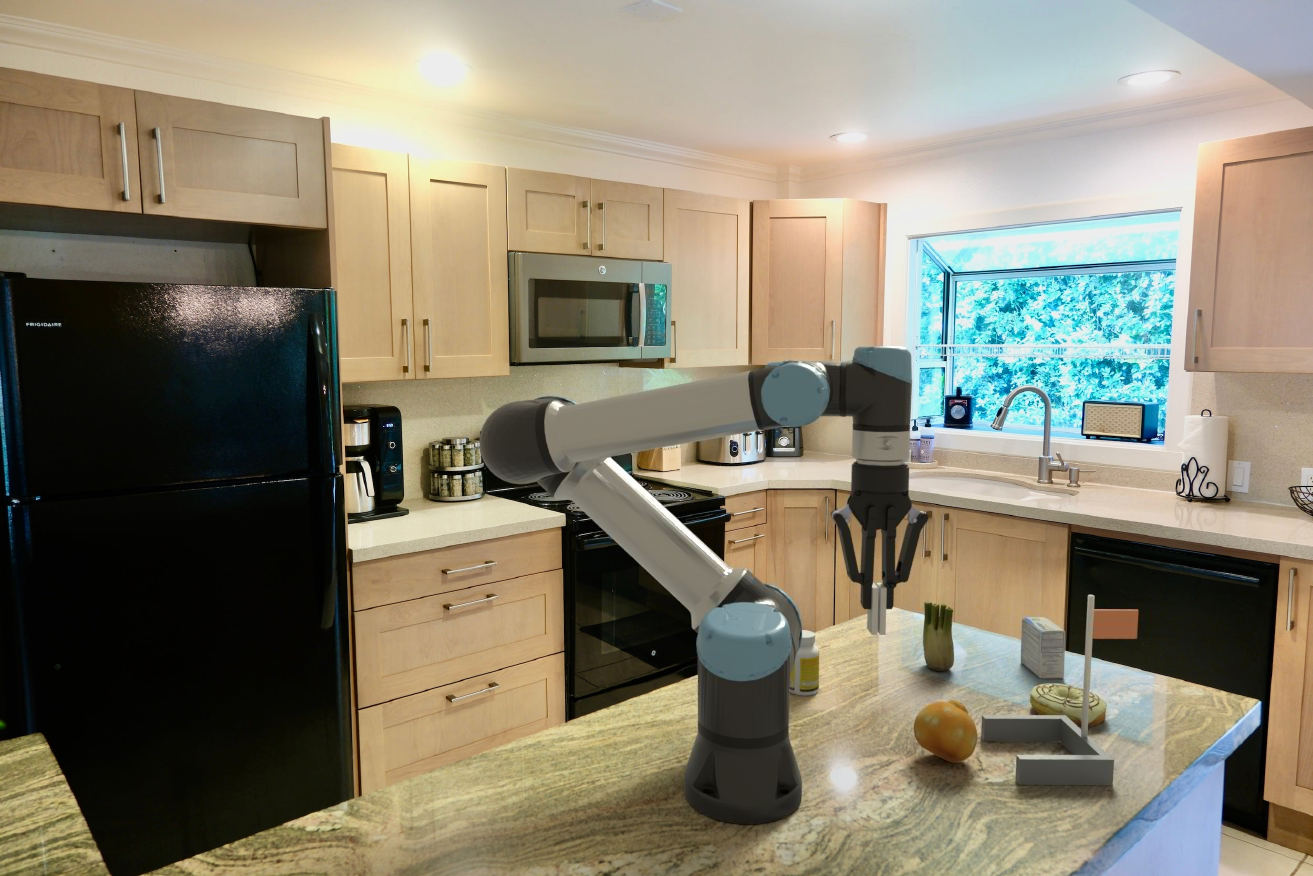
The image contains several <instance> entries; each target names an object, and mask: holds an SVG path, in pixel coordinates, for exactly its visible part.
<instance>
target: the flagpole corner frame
mask: <svg viewBox="0 0 1313 876" xmlns="http://www.w3.org/2000/svg"><path fill="white" fill-rule="evenodd" d="M1138 623H1139V609H1095V595H1093V594H1088V595H1087V609H1086V624H1085V626H1086V628H1085V647H1084V666H1083V667H1084V668H1083V669H1084V670H1083V686H1082V687H1083V688H1082V689H1083V704H1082V723H1081V726H1079V725H1076V724H1075V723H1073V722H1072V721H1071V720H1070V719H1069V718H1068V717H1067V716H1066V715H1039V714H1037V715H1036V714H1035V715H1034V714H981V729H980V730H981V731H980V733H981V734H980V739H983V740H982V741H983V742H984V741H985V742H986V741H987V742H988V741H989V743H990V741H991V743H992V741H993V742H994V741H995V742H996V743H997V742H1003V743H1005V742H1007V743H1009V742H1010V743H1012V742H1013V741H1014V742H1016V743H1017V742H1019V743H1021V742H1022V743H1023V742H1024V743H1025V742H1026V743H1028V742H1029V743H1030V742H1032V743H1033V742H1034V743H1035V742H1036V741H1037V742H1038V741H1039V743H1041V741H1042V743H1046V742H1047V743H1060V744H1062V745H1063V746H1064V748H1065V749H1066V750H1067V751H1068V752H1070V753H1071V754H1061V755H1060V754H1016V758H1015V759H1016V761H1015V778H1014V779H1015V781H1016V783H1017V784H1018V785H1019V786H1022V785H1023V786H1024V785H1025V786H1030V785H1031V786H1033V785H1035V786H1114V774H1115V773H1114V770H1115V769H1114V768H1115V759H1114V758H1113V757H1112V756H1111V755H1110V754H1108V753H1107V752H1106V751H1105V750H1104V749H1103V748H1102V747H1101V746H1100V745H1099V744H1098V743H1096V742H1095V741H1094V739H1092V738H1091V737H1090V736H1089V735H1088V734H1089V733H1088V731H1089V729H1088V728H1089V726H1088V714H1089V695H1090V692H1091V690H1090V689H1091V674H1092V657H1093V653H1092V652H1093V651H1092V650H1093V639H1095V640H1096V639H1097V640H1098V639H1099V640H1101V639H1102V640H1106V639H1107V640H1108V639H1109V640H1111V639H1113V640H1119V639H1121V640H1129V639H1130V640H1135V639H1136V640H1137V639H1138V627H1139V624H1138ZM1043 741H1044V742H1043ZM985 742H984V743H985ZM1014 742H1013V743H1014ZM1037 742H1036V743H1037Z"/></svg>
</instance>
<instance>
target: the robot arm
mask: <svg viewBox="0 0 1313 876" xmlns="http://www.w3.org/2000/svg"><path fill="white" fill-rule="evenodd" d="M912 367H913V366H912V353H911V351H909V349H907V347H904V346H899V345H898V346H895V345H893V346H891V345H890V346H887V345H886V346H884V345H883V346H858V347H856V348H855V349H854V352H853V356H852V360H846V361H845V360H844V361H843V360H842V361H824V360H823V361H822V360H821V361H820V360H819V361H817V360H816V361H815V360H792V359H791V360H790V359H789V360H782V361H771V362H768V363H767V364H766V365H765V366H764V368H758V369H755V370H749V371H748V370H747V371H743V372H737V373H732V374H726V375H722V376H718V377H717V376H716V377H711V378H706V379H702V380H695V381H691V382H690V381H689V382H686V383H685V382H684V383H679V384H675V385H670V386H664V387H659V388H653V389H649V390H644V391H639V392H633V393H628V394H623V395H618V396H613V397H608V398H602V399H597V400H592V401H587V402H581V403H578V402H576V401H574V400H572V399H569V398H566V397H562V396H561V397H560V396H556V395H555V396H553V395H546V396H540V397H536V398H535V399H527V400H516V401H512V402H508V403H504V404H503V405H501V406H500V407H498V408H497V409H495V410H494V411H493V412H492V413H490V415H489V416H488V417H487V418H486V420H485V421H484V423H483V425H482V427H481V431H480V433H479V439H478V440H479V442H478V443H479V445H478V446H479V452H480V455H481V458H482V460H483V463H484V464H485V465H486V467H487V468H488V469H489V471H490V472H491V473H492V474H493V475H494V476H496V477H497V478H498V479H501V480H502V481H504V482H507V483H510V484H514V485H515V484H516V485H526V484H531V483H536V482H537V484H539V485H540V486H541V488H542V489H544V491H546V492H547V493H548V494H549V495H550V496H551V497H552V498H553V499H555V500H556V501H561V500H563V501H564V500H566V501H567V500H569V501H572V502H573V503H574V504H575V505H576V506H577V507H578V508H580V510H581V511H583V512H584V514H585V515H586V516H588V517H589V518H590V519H591V520H592V521H593V522H594V523H595V524H596V525H597V526H598V527H599V528H601V529H602V531H604V532H605V533H606V534H607V535H608V536H609V537H610V538H611V539H612V540H614V541H615V542H616V543H617V544H618V546H620V547H621V548H622V549H623V550H624V551H625V552H626V553H627V554H628V555H629V556H630V557H632V558H633V559H634V560H635V561H636V562H637V563H638V564H639V565H640V566H641V567H642V568H643V569H644V570H646V571H647V573H649V574H650V575H651V576H652V577H653V578H654V579H655V580H656V581H657V582H658V583H659V584H660V585H662V587H664V589H666V590H667V591H668V592H669V593H670V594H671V595H672V596H673V597H675V599H676V600H677V601H679V602H680V603H681V605H683V606H684V607H685V608H686V609H687V610H688V611H689V613H690V617H691V618H690V619H691V628H692V630H694V631H695V632H696V633H697V637H696V644H695V645H696V654H697V733H696V736H695V739H694V742H693V746H692V749H691V751H690V755H689V757H688V761H687V763H686V766H685V769H684V775H683V792H684V797H685V798H686V801H687V802H688V803H689V805H690V806H691V807H693V808H694V809H695V810H696V811H698V812H700V813H701V814H703V815H705V816H706V817H709V818H712V819H715V820H719V821H721V822H726V823H732V824H741V825H742V824H743V825H757V824H758V825H759V824H764V823H770V822H774V821H777V820H780V819H783V818H785V817H787V816H789V815H791V814H792V813H794V811H796V810H797V809H798V807H799V806H800V804H801V802H802V798H803V779H802V774H801V772H800V769H799V765H798V763H797V758H796V755H795V753H794V749H793V746H792V743H791V740H790V731H789V729H790V728H789V727H790V723H789V722H790V692H789V687H790V675H791V672H792V668H793V664H794V661H795V658H796V655H797V652H798V650H799V648H800V645H801V640H802V630H803V625H802V618H801V614H800V611H799V608H798V605H797V604H796V603H795V601H794V600H793V599H792V597H791V596H790V595H789V594H788V593H786V591H784V590H783V589H781V588H779V587H777V586H776V585H774V584H773V585H772V584H769V583H763V582H762V581H761V580H760V579H759V578H757V577H756V576H755V575H754V574H753V573H752V572H751V571H750V570H749V569H748V568H746V567H731V566H729V565H728V564H727V562H725V561H723V560H722V558H720V557H719V556H718V555H717V553H716V552H714V551H713V550H712V549H711V548H710V547H708V546H707V544H705V543H704V542H703V541H702V540H701V539H700V538H699V537H698V536H697V535H696V534H694V533H693V532H692V530H690V528H688V527H687V526H686V525H684V524H683V522H681V521H680V520H679V519H678V518H677V517H676V515H674V514H673V513H672V512H670V511H669V509H667V508H666V507H665V505H663V504H662V503H661V502H660V501H659V500H658V499H656V498H655V497H654V496H653V495H652V494H651V493H650V492H649V491H648V490H647V489H645V488H644V487H643V486H642V485H641V484H640V483H639V482H638V481H637V480H636V479H634V477H632V475H630V474H629V473H628V472H627V471H626V470H625V469H624V468H623V467H622V466H621V465H619V464H618V463H617V461H615V460H614V459H613V458H612V457H616V456H621V455H627V454H628V455H629V454H631V453H639V452H644V451H649V450H655V449H656V450H657V449H661V448H667V447H671V446H672V447H673V446H678V445H685V444H690V443H694V442H701V441H707V440H708V441H709V440H712V439H713V440H714V439H720V438H725V437H729V436H730V437H731V436H736V435H742V434H746V433H747V434H748V433H753V432H758V431H766V430H767V431H768V430H772V429H779V428H784V427H789V428H799V427H803V426H807V425H811V424H812V423H814V422H815V421H817V420H818V419H819V418H820V417H843V418H846V417H852V437H851V439H852V440H851V441H852V442H851V458H853V459H854V460H855V461H854V462H852V464H851V475H850V476H851V478H850V479H851V480H850V481H851V484H850V486H851V487H850V491H851V492H850V494H849V497H848V498H847V501H846V505H845V506H844V505H843V507H841V508H840V509H837V510H836V509H834V510H832V511H831V512H830V517H831V519H832V520H833V523H834V524H835V525H836V527H837V531H838V536H839V540H840V541H839V542H840V546H841V550H842V556H843V561H844V566H845V570H846V575H847V577H848V578H849V579H850V580H851V582H853V583H857V584H859V585H860V606H861V607H862V608H863V610H867V611H866V612H867V617H866V620H867V621H866V629H867V630H868V632H869V633H870V634H871V636H878V634H879V636H880V635H881V636H886V634H887V633H886V629H887V628H886V627H887V610H892V609H894V602H895V601H894V600H895V599H894V596H895V594H894V593H895V590H894V589H896V587H897V585H899V584H900V583H903V584H904V583H907V582H908V581H909V579H910V575H911V571H912V567H913V562H914V559H915V555H916V551H917V547H918V543H919V539H920V536H921V531H922V529H923V528H924V527H925V525H926V523H927V522H928V521H929V517H930V516H929V515H928V513H926V512H924V511H923V510H920V509H917V508H916V507H914V506H913V501H912V500H911V497H910V495H909V494H910V493H909V492H910V491H909V490H910V489H909V488H910V465H909V464H908V463H906V462H905V461H908V460H909V459H910V451H911V447H910V446H911V445H910V443H911V418H912V416H911V415H912V396H913V395H912V393H913V392H912V391H913V375H912V374H913V372H912V371H913V370H912ZM851 514H852V515H853V516H854V518H855V519H856V521H857V522H858V523H859V525H860V526H861V529H860V531H861V548H860V549H861V551H860V552H861V553H860V571H859V568H858V567H859V566H858V563H857V557H856V552H855V547H854V542H853V538H852V532H851V529H850V526H849V524H850V523H851V521H852V520H851ZM906 516H907V517H906ZM905 517H906V520H907V522H908V523H907V525H906V528H905V532H904V536H903V539H902V544H901V548H900V551H899V552H900V553H899V555H898V559H897V563H896V538H897V527H898V526H899V525H900V524H901V522H902V521H903V520H904V518H905ZM879 530H880V532H881V580H882V582H874V573H875V572H874V571H875V569H874V568H875V551H876V549H875V548H876V538H877V531H879Z"/></svg>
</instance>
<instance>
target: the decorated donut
mask: <svg viewBox="0 0 1313 876" xmlns="http://www.w3.org/2000/svg"><path fill="white" fill-rule="evenodd" d="M1029 703H1030V705H1031V707H1032V708H1033V710H1034V711H1035V712H1036V713H1037V715H1066V716H1067V717H1068V718H1069V719H1070V720H1071V721H1072V722H1073V723H1075V724H1076V725H1077V726H1079V725H1081V723H1082V704H1083V688H1081V687H1078V686H1074V685H1070V684H1065V683H1051V682H1047V683H1040V684H1039V685H1036V686H1035V685H1034V686H1033V688H1032V689H1031V691H1030V695H1029ZM1107 706H1108V704H1107V702H1106V701H1105V700H1104V698H1102V697H1101V696H1099V695H1098V694H1095V693H1093V692H1091V691H1090V695H1089V714H1088V727H1092V726H1097V725H1099V724H1101V723H1103V722H1104V720H1105V719H1106V716H1107V715H1106V714H1107V708H1108V707H1107Z"/></svg>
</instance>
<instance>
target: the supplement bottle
mask: <svg viewBox="0 0 1313 876" xmlns="http://www.w3.org/2000/svg"><path fill="white" fill-rule="evenodd" d="M819 649H820V648H818V646H817V645H816V633H815V632H813V631H810V630H805V629H802V640H801V645H800V648H799V650H798V652H797V655H796V658H795V661H794V664H793V668H792V672H791V675H790V687H789V693H791V694H793V695H797V696H804V697H805V696H812V695H815V694H818V692H819V690H820V688H819V687H820V650H819Z"/></svg>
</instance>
